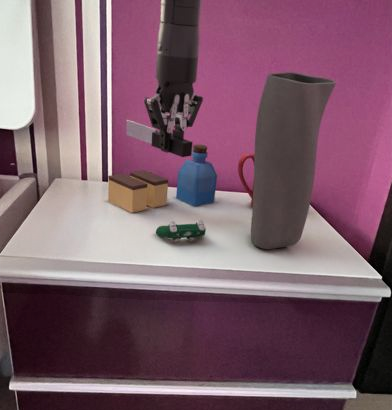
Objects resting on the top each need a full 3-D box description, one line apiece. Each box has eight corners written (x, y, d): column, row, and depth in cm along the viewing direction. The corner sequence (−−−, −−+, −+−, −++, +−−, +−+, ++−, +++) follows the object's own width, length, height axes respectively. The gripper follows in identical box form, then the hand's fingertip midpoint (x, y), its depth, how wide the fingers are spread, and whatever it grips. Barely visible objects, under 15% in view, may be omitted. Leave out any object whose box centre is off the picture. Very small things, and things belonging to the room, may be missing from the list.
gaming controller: (157, 248, 108) (166, 236, 103) (153, 229, 109) (162, 216, 103) (201, 245, 111) (212, 233, 106) (197, 227, 112) (208, 214, 106)
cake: (131, 213, 118) (132, 186, 115) (108, 201, 122) (108, 175, 119) (166, 204, 124) (168, 179, 121) (142, 194, 128) (143, 169, 125)
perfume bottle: (194, 206, 125) (199, 151, 118) (176, 198, 128) (180, 144, 122) (214, 202, 129) (220, 148, 122) (195, 194, 132) (201, 141, 126)
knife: (191, 155, 109) (192, 139, 107) (182, 157, 107) (183, 141, 106) (131, 134, 119) (131, 119, 117) (122, 135, 117) (122, 120, 116)
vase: (265, 259, 104) (297, 83, 88) (227, 235, 112) (250, 70, 96) (314, 251, 110) (352, 84, 94) (275, 228, 118) (304, 72, 102)
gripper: (163, 56, 95) (157, 160, 104) (218, 55, 103) (208, 151, 113) (134, 49, 99) (131, 150, 108) (190, 49, 108) (183, 142, 117)
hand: (171, 150), depth 111 cm, fingers closed on knife, 2 cm apart
